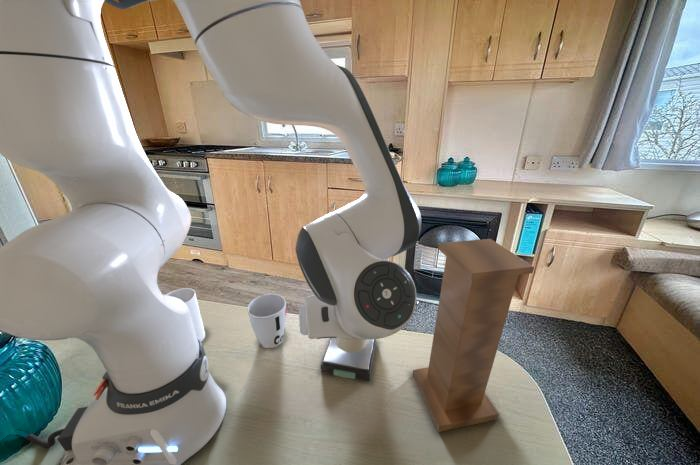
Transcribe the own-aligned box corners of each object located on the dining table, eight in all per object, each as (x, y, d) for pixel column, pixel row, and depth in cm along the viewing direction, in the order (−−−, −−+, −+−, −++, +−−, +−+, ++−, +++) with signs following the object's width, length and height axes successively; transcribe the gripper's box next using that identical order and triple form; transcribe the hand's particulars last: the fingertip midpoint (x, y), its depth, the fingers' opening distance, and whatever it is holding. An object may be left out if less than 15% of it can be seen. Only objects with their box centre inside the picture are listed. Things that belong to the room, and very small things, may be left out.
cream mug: (337, 354, 54) (336, 314, 50) (331, 322, 63) (329, 285, 59) (371, 349, 55) (372, 309, 51) (360, 318, 64) (361, 281, 60)
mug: (185, 328, 68) (172, 287, 63) (211, 329, 67) (201, 288, 63) (157, 362, 58) (139, 317, 54) (188, 363, 58) (173, 319, 53)
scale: (320, 374, 56) (319, 364, 55) (334, 336, 65) (333, 327, 64) (369, 383, 54) (369, 373, 53) (376, 343, 63) (376, 334, 62)
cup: (280, 356, 60) (275, 320, 56) (246, 350, 61) (239, 314, 57) (294, 329, 67) (291, 296, 63) (264, 325, 69) (258, 291, 65)
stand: (438, 432, 46) (469, 278, 34) (412, 375, 56) (429, 240, 44) (497, 419, 48) (547, 270, 36) (462, 366, 58) (492, 235, 46)
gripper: (419, 282, 46) (395, 295, 59) (295, 297, 43) (299, 308, 56) (427, 321, 44) (401, 326, 57) (298, 340, 41) (301, 341, 53)
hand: (350, 317), depth 56 cm, fingers closed on cream mug, 7 cm apart
